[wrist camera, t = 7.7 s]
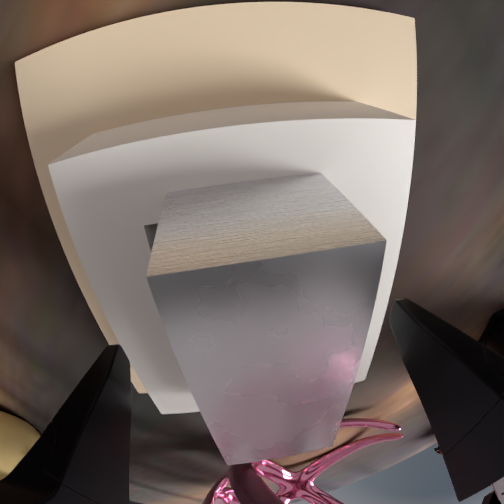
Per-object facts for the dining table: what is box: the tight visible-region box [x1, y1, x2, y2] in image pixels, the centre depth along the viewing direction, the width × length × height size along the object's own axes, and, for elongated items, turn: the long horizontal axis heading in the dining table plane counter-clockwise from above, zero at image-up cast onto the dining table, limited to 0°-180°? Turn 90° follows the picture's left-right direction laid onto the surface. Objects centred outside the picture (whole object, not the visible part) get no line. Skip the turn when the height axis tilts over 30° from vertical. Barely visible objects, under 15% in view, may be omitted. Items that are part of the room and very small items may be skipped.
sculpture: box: [0, 411, 40, 480], centre depth 18 cm, size 12×12×11 cm
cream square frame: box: [15, 2, 417, 414], centre depth 12 cm, size 20×16×5 cm
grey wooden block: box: [146, 173, 387, 465], centre depth 10 cm, size 9×4×8 cm, turn 5°
